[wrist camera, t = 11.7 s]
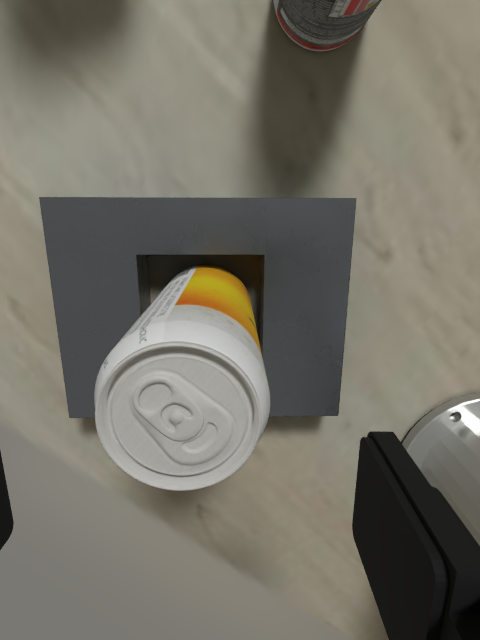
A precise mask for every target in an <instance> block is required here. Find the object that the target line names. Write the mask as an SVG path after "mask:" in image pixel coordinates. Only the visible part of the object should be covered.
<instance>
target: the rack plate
mask: <svg viewBox="0 0 480 640" xmlns="http://www.w3.org/2000/svg"><path fill="white" fill-rule="evenodd" d="M39 199H40V206H41V214H42V221H43V228H44V236H45V243H46V250H47V258H48V265H49V272H50V279H51V287H52V294H53V301H54V309H55V316H56V323H57V331H58V338H59V345H60V353H61V360H62V367H63V374H64V382H65V389H66V396H67V404H68V411H69V418H95V404H94V392H95V384H96V380H97V376H98V373H99V371H100V368H101V366H102V364H103V362H104V361H105V359H106V357H107V356H108V355H109V353H110V352H111V351H112V349H113V348H114V347H115V346H116V345H117V344H118V342H119V341H120V340H121V339H122V338H123V336H124V335H125V334H126V333H127V332H128V331H129V329H130V328H131V327H132V326H133V325H134V324H135V322H136V321H137V320H138V319H139V318H140V316H141V315H142V314H143V313H144V312H145V311H146V309H147V308H148V307H149V306H150V305H151V304H150V288H149V273H148V257H147V255H261V278H260V334H259V343H260V348H261V353H262V357H263V362H264V367H265V372H266V376H267V381H268V386H269V392H270V412H269V416H338V413H339V401H340V389H341V377H342V365H343V353H344V341H345V329H346V317H347V305H348V293H349V281H350V269H351V257H352V245H353V233H354V221H355V209H356V198H111V197H39Z"/></svg>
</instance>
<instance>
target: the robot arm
mask: <svg viewBox="0 0 480 640" xmlns="http://www.w3.org/2000/svg"><path fill="white" fill-rule="evenodd" d="M352 528H353V536H354V540H355V543H356V546H357V549H358V552H359V555H360V557H361V560H362V563H363V566H364V569H365V572H366V575H367V578H368V580H369V583H370V586H371V589H372V592H373V595H374V598H375V601H376V603H377V606H378V609H379V612H380V615H381V618H382V621H383V624H384V627H385V629H386V632H387V635H388V638H389V640H480V393H475V394H470V395H464V396H461V397H458V398H456V399H453V400H450V401H448V402H446V403H444V404H442V405H440V406H438V407H437V408H435V409H433V410H432V411H431V412H429V413H428V414H427V415H425V416H424V417H423V418H422V419H421V420H420V421H419V422H418V423H417V424H416V425H415V426H414V427H413V428H412V429H411V430H410V432H409V433H408V435H407V437H406V438H405V440H404V441H403V443H402V444H401V442H400V441H399V439H398V438H397V436H396V435H395V434H394V433H393V432H369V433H368V436H367V437H362V438H361V441H360V450H359V460H358V471H357V481H356V492H355V502H354V512H353V523H352ZM12 529H13V517H12V511H11V506H10V500H9V496H8V490H7V485H6V480H5V474H4V469H3V463H2V457H1V452H0V550H1V548H2V547H3V546H4V544H5V543H6V541H7V540H8V539H9V537H10V535H11V533H12Z"/></svg>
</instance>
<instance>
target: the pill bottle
mask: <svg viewBox="0 0 480 640" xmlns="http://www.w3.org/2000/svg"><path fill="white" fill-rule="evenodd" d="M273 1H274V8H275V12H276V15H277V18H278V21H279V23H280V25H281V27H282V29H283V30H284V32H285V33H286V34H287V35H288V37H289V38H290V39H291V40H292V41H294V42H295V43H296V44H298V45H299V46H301V47H303V48H305V49H308V50H312V51H329V50H333V49H336V48H338V47H341V46H343V45H344V44H346V43H347V42H349V41H350V40H351V39H352V38H353V37H355V36H356V35H357V33H358V32H359V31H360V30H361V29H362V28H363V26H364V25H365V23H366V22H367V20H368V19H369V18H370V16H371V15H372V13H373V12H374V10H375V9H376V7H377V6H378V4H379V3H380V2H381V0H273Z"/></svg>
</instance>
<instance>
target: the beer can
mask: <svg viewBox="0 0 480 640" xmlns="http://www.w3.org/2000/svg"><path fill="white" fill-rule="evenodd" d="M94 404H95V423H96V429H97V433H98V436H99V439H100V441H101V444H102V446H103V448H104V449H105V451H106V453H107V454H108V456H109V457H110V458H111V460H112V461H113V462H114V463H115V464H116V465H117V466H118V467H119V468H120V469H121V470H123V471H124V472H125V473H126V474H128V475H129V476H131V477H132V478H134V479H136V480H138V481H140V482H142V483H144V484H147V485H149V486H152V487H156V488H160V489H165V490H173V491H188V490H196V489H202V488H205V487H209V486H212V485H214V484H217V483H219V482H221V481H223V480H225V479H226V478H228V477H229V476H231V475H232V474H234V473H235V472H236V471H237V470H238V469H239V468H241V466H242V465H243V464H244V463H245V462H246V461H247V459H248V458H249V457H250V455H251V454H252V452H253V450H254V448H255V446H256V444H257V442H258V441H259V439H260V438H261V436H262V434H263V432H264V430H265V427H266V425H267V421H268V417H269V412H270V392H269V386H268V381H267V376H266V372H265V367H264V362H263V357H262V353H261V348H260V343H259V338H258V334H257V329H256V324H255V319H254V315H253V310H252V305H251V300H250V297H249V294H248V291H247V289H246V288H245V286H244V284H243V283H242V282H241V281H240V280H239V278H238V277H236V276H235V275H234V274H233V273H231V272H230V271H228V270H226V269H224V268H221V267H218V266H214V265H197V266H193V267H190V268H187V269H185V270H183V271H182V272H180V273H179V274H177V275H176V276H175V277H174V278H173V279H172V280H171V281H170V282H169V283H168V285H167V286H166V287H165V288H164V289H163V291H162V292H161V293H160V294H159V295H158V296H157V298H156V299H155V300H154V301H153V302H152V303H151V305H150V306H149V307H148V308H147V309H146V311H145V312H144V313H143V314H142V315H141V316H140V318H139V319H138V320H137V321H136V322H135V324H134V325H133V326H132V327H131V328H130V329H129V331H128V332H127V333H126V334H125V335H124V336H123V338H122V339H121V340H120V341H119V342H118V344H117V345H116V346H115V347H114V348H113V349H112V351H111V352H110V353H109V355H108V356H107V357H106V359H105V361H104V362H103V364H102V366H101V368H100V371H99V373H98V376H97V380H96V384H95V392H94Z"/></svg>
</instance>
